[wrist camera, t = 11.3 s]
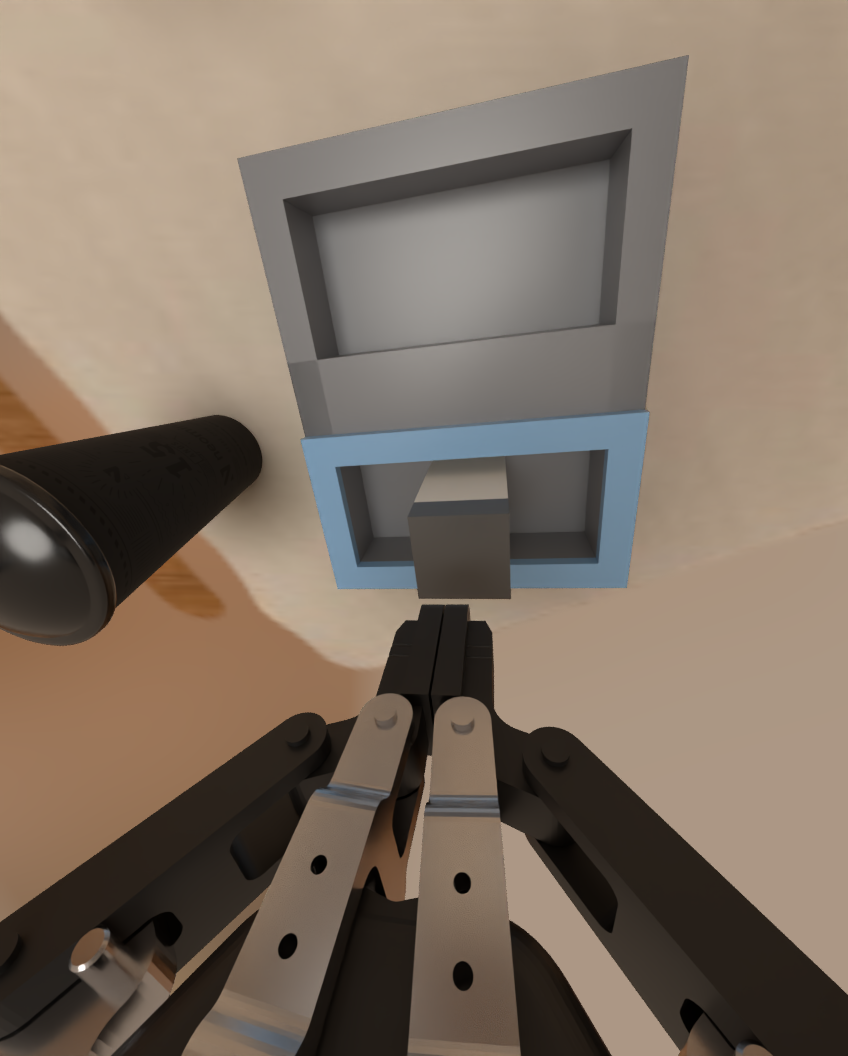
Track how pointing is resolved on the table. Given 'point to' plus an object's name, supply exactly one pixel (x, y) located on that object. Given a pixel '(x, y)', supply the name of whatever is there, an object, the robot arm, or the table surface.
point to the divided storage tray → (478, 315)
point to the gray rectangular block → (462, 530)
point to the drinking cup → (108, 518)
